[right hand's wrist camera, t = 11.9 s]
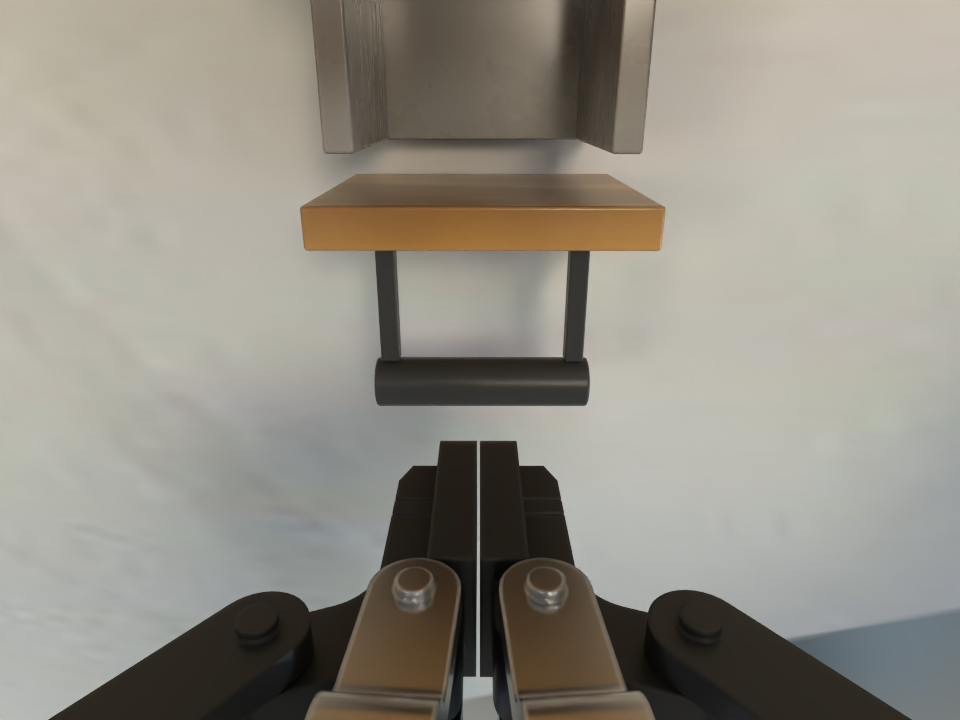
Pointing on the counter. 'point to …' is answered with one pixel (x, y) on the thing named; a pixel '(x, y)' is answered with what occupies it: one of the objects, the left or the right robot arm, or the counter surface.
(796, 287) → the counter surface
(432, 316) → the counter surface
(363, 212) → the drawer
